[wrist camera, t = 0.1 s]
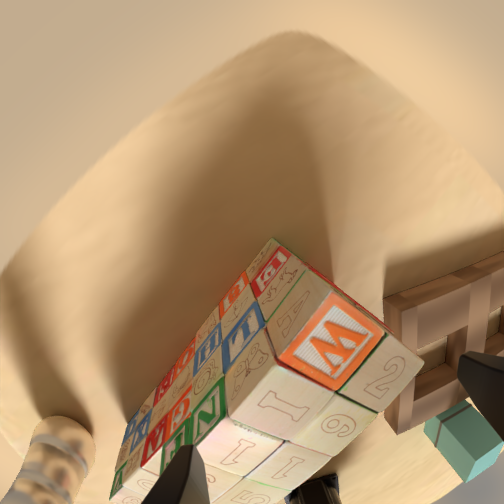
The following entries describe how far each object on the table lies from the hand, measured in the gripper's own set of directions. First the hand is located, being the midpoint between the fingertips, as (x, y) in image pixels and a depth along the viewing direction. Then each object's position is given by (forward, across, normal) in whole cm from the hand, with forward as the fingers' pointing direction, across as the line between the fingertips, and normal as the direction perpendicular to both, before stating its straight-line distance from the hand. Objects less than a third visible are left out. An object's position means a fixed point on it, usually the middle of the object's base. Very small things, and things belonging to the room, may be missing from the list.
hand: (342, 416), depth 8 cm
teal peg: (+15, -17, +22) cm, 32 cm away
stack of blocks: (+15, +5, +6) cm, 17 cm away
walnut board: (+15, -18, +11) cm, 26 cm away
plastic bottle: (+15, +22, +11) cm, 29 cm away
